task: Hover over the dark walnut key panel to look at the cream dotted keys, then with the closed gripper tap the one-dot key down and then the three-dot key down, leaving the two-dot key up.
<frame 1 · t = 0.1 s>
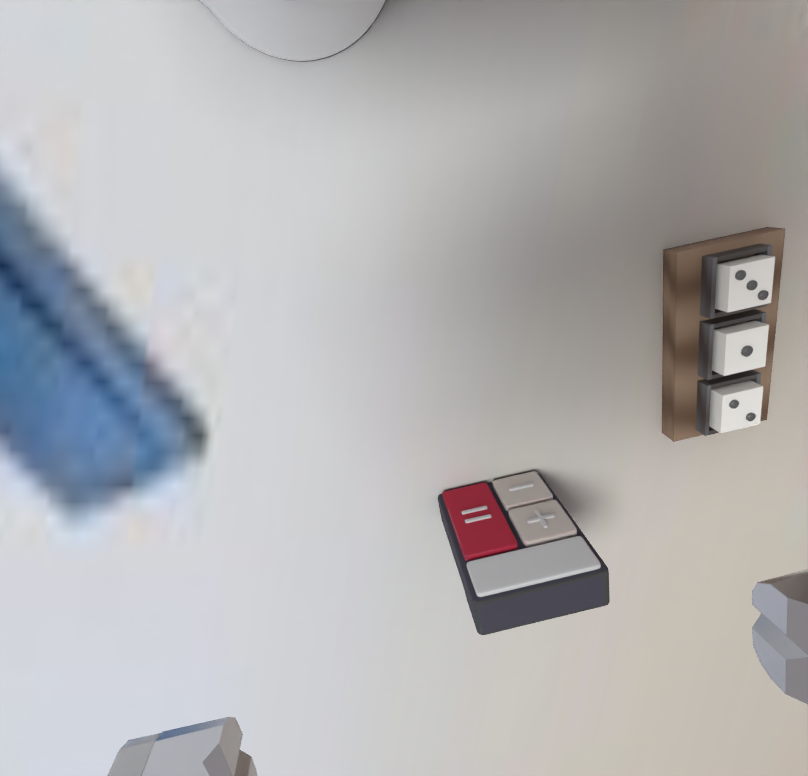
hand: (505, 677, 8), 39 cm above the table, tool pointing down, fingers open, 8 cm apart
key two: (736, 407, 49), point 4 cm above the table, slide at 0.0 cm
key panel: (711, 336, 50), on the table
key three: (744, 283, 44), point 4 cm above the table, slide at 0.0 cm
key one: (740, 348, 46), point 4 cm above the table, slide at 0.0 cm
calculator: (489, 492, 54), on the table
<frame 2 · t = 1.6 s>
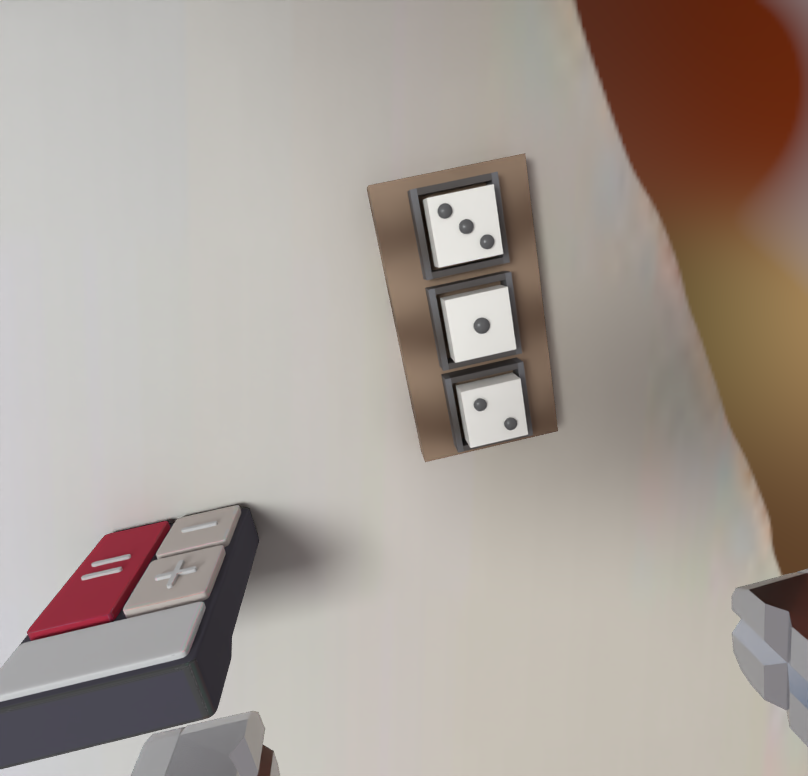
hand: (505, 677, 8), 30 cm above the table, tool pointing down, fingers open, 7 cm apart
key two: (492, 410, 34), point 4 cm above the table, slide at 0.0 cm
key panel: (464, 315, 36), on the table
key three: (463, 226, 31), point 4 cm above the table, slide at 0.0 cm
key one: (478, 323, 33), point 4 cm above the table, slide at 0.0 cm
calculator: (184, 535, 39), on the table
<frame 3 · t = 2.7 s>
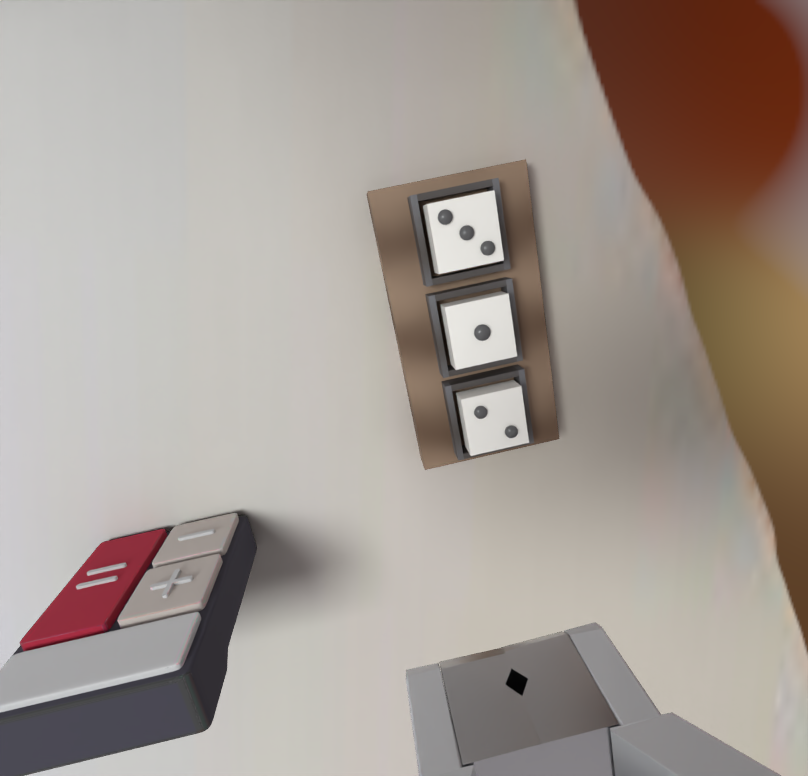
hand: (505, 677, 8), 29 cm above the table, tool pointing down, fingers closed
key two: (492, 418, 34), point 4 cm above the table, slide at 0.0 cm
key panel: (465, 321, 36), on the table
key three: (463, 233, 31), point 4 cm above the table, slide at 0.0 cm
key one: (478, 330, 32), point 4 cm above the table, slide at 0.0 cm
calculator: (181, 543, 38), on the table
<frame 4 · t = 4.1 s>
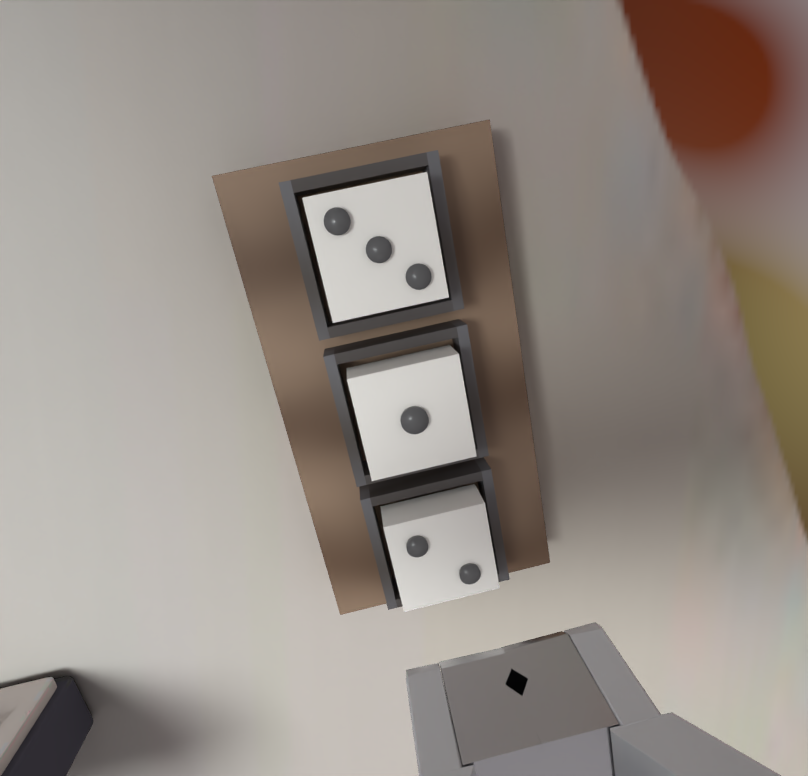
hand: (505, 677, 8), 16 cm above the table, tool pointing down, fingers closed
key two: (440, 548, 21), point 4 cm above the table, slide at 0.0 cm
key panel: (400, 384, 23), on the table
key three: (377, 249, 17), point 4 cm above the table, slide at 0.0 cm
key one: (411, 412, 19), point 4 cm above the table, slide at 0.0 cm
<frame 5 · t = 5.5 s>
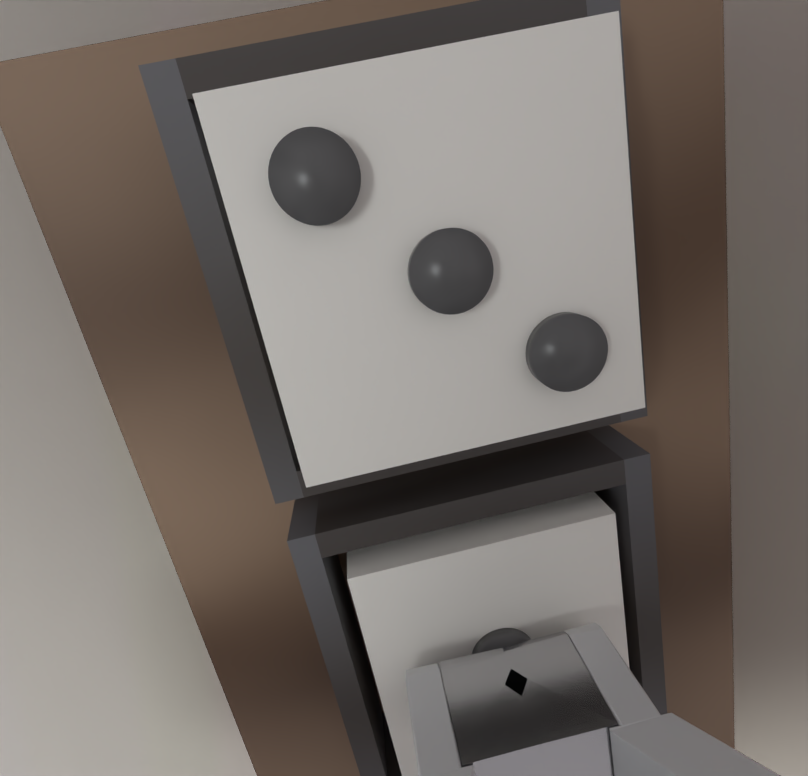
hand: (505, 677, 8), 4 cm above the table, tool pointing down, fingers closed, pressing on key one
key panel: (454, 529, 11), on the table
key three: (436, 267, 6), point 4 cm above the table, slide at 0.0 cm
key one: (490, 622, 9), point 3 cm above the table, slide at 1.0 cm, touching gripper
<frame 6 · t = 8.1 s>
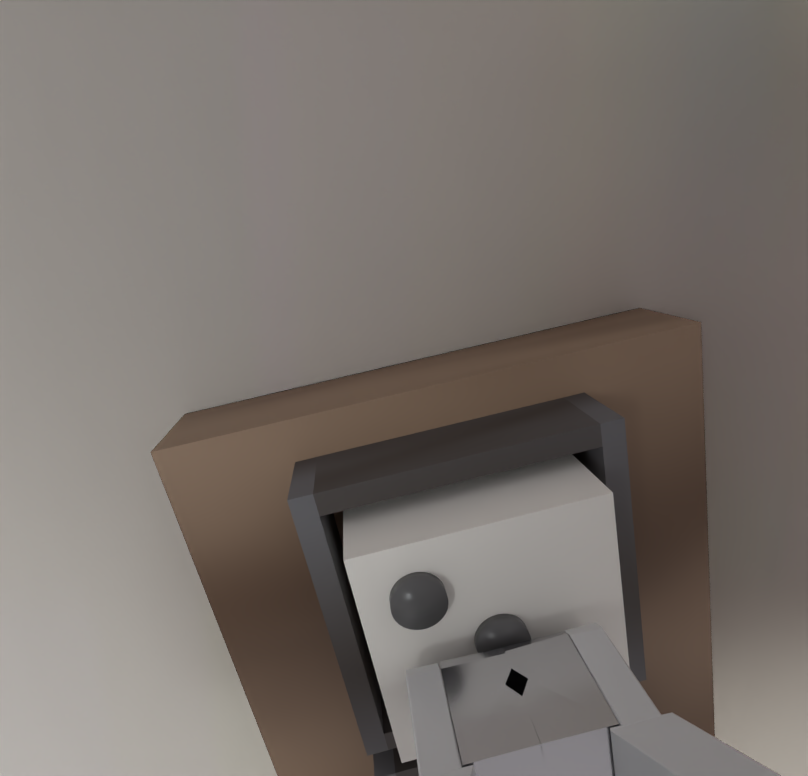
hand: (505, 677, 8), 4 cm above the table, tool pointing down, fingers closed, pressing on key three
key panel: (487, 695, 14), on the table
key three: (488, 605, 9), point 4 cm above the table, slide at 0.4 cm, touching gripper
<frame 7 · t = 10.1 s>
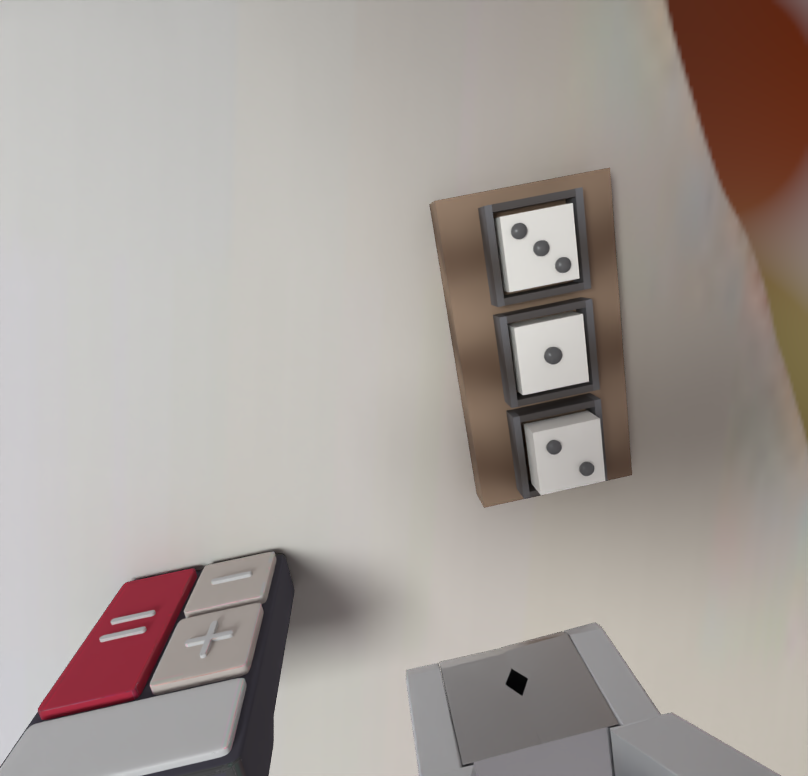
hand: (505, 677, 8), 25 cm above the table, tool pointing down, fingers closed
key two: (565, 453, 30), point 4 cm above the table, slide at 0.0 cm
key panel: (531, 344, 33), on the table
key three: (536, 248, 28), point 3 cm above the table, slide at 1.0 cm, touching key panel
key one: (547, 353, 30), point 3 cm above the table, slide at 1.0 cm, touching key panel
calculator: (211, 584, 35), on the table
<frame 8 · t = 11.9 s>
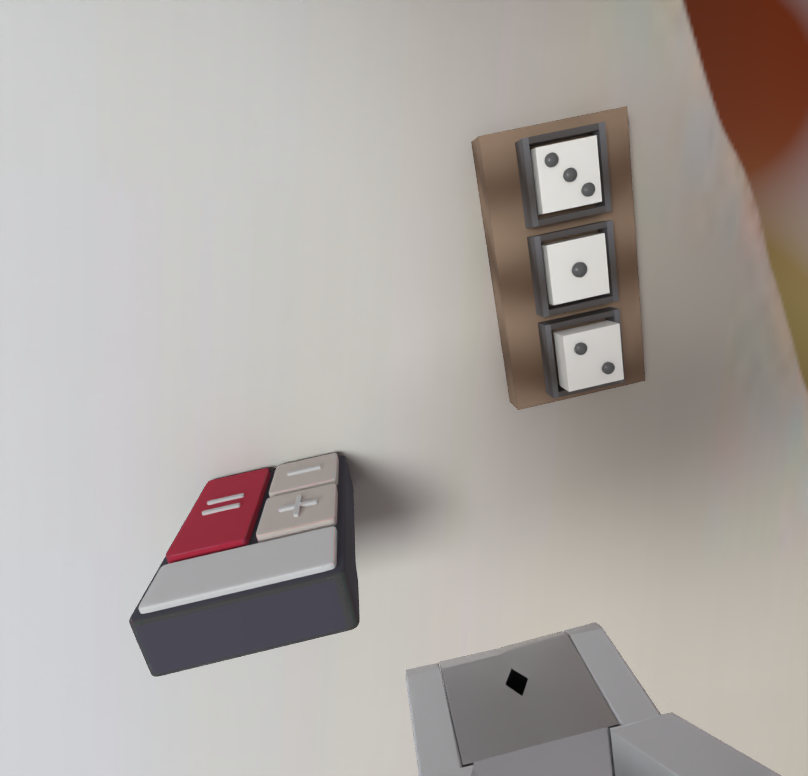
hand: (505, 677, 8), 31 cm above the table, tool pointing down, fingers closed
key two: (589, 356, 36), point 4 cm above the table, slide at 0.0 cm
key panel: (557, 267, 38), on the table
key three: (564, 176, 33), point 3 cm above the table, slide at 1.0 cm, touching key panel
key one: (574, 269, 35), point 3 cm above the table, slide at 1.0 cm, touching key panel
calculator: (280, 484, 40), on the table
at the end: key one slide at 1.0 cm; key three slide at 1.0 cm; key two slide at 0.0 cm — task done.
